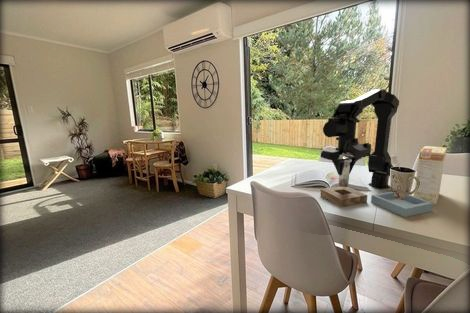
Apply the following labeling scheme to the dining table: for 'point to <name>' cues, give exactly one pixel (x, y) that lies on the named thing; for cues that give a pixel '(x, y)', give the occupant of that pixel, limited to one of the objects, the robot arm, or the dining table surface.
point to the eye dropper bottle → (395, 161)
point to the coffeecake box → (430, 173)
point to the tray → (402, 204)
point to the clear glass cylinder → (345, 172)
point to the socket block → (343, 196)
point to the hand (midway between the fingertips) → (344, 174)
